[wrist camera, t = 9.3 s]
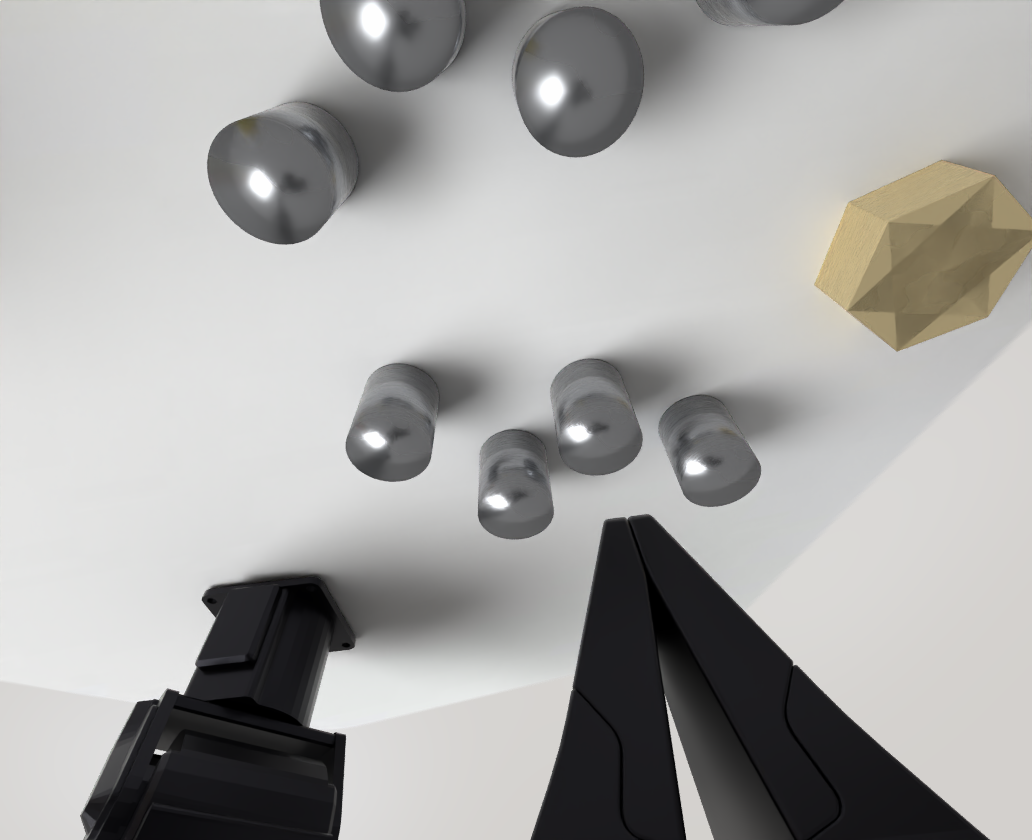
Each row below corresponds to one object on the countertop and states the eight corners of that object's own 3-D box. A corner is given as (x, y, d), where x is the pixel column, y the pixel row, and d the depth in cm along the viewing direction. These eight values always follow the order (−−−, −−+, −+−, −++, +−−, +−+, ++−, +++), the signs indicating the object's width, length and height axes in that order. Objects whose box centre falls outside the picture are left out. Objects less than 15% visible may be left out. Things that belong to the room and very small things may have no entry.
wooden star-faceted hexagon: (981, 272, 20) (1035, 298, 18) (821, 336, 21) (854, 367, 19) (987, 136, 17) (1051, 150, 15) (801, 221, 18) (838, 243, 16)
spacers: (734, 452, 24) (766, 508, 21) (391, 496, 25) (379, 556, 22) (817, -139, 13) (908, -186, 10) (188, -21, 14) (109, -34, 11)
